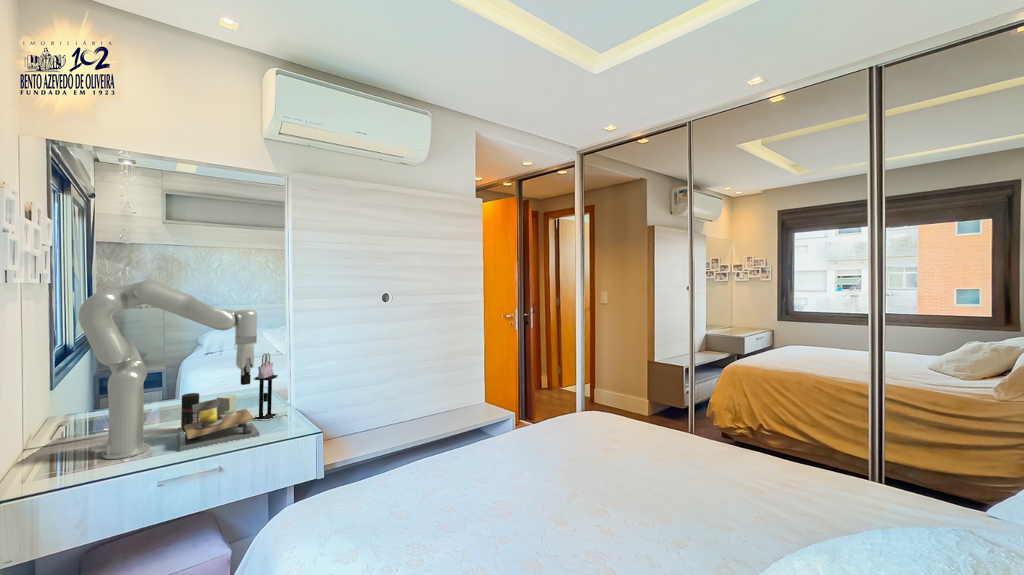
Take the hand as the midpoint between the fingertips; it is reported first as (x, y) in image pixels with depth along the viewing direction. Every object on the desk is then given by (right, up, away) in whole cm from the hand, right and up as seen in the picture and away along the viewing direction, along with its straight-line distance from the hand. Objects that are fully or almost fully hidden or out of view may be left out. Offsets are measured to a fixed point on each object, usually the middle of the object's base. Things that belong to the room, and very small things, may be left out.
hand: (245, 384), depth 177 cm
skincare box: (-16, -20, +12) cm, 29 cm away
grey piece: (-9, -21, -4) cm, 23 cm away
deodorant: (-25, -20, +3) cm, 32 cm away
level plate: (-8, -15, -4) cm, 18 cm away
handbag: (-4, -21, +22) cm, 30 cm away
